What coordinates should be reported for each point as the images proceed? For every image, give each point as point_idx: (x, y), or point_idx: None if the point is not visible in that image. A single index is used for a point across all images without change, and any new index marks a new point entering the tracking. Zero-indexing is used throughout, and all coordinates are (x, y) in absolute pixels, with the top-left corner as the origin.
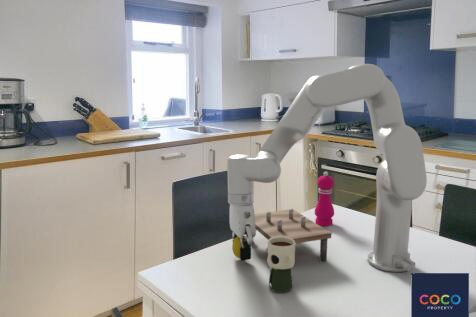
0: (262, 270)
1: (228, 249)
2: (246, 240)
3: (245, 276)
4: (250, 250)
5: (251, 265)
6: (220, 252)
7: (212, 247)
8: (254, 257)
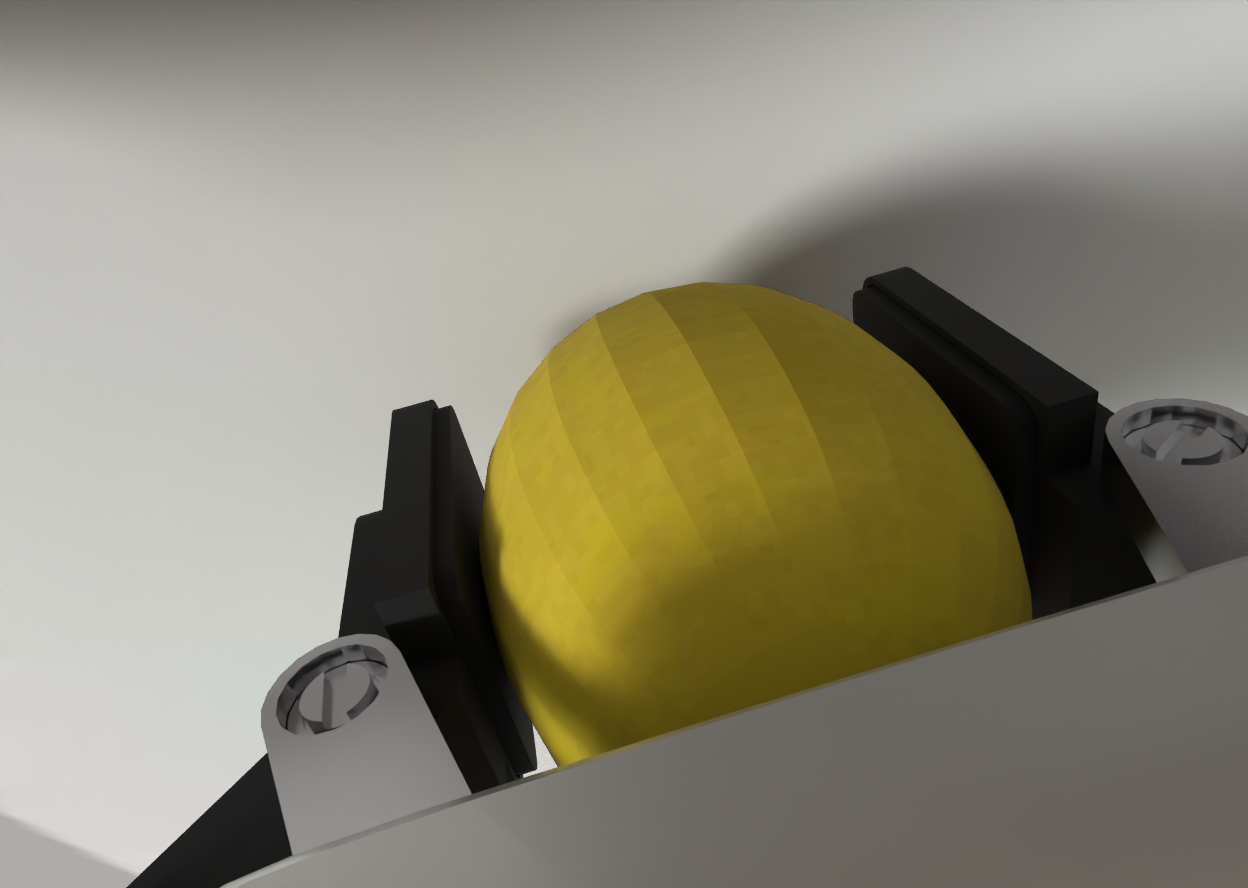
0: (1112, 27)
1: (79, 585)
2: (1011, 590)
3: (1165, 356)
4: (1016, 351)
5: (855, 216)
6: (247, 694)
7: (27, 813)
8: (498, 90)
